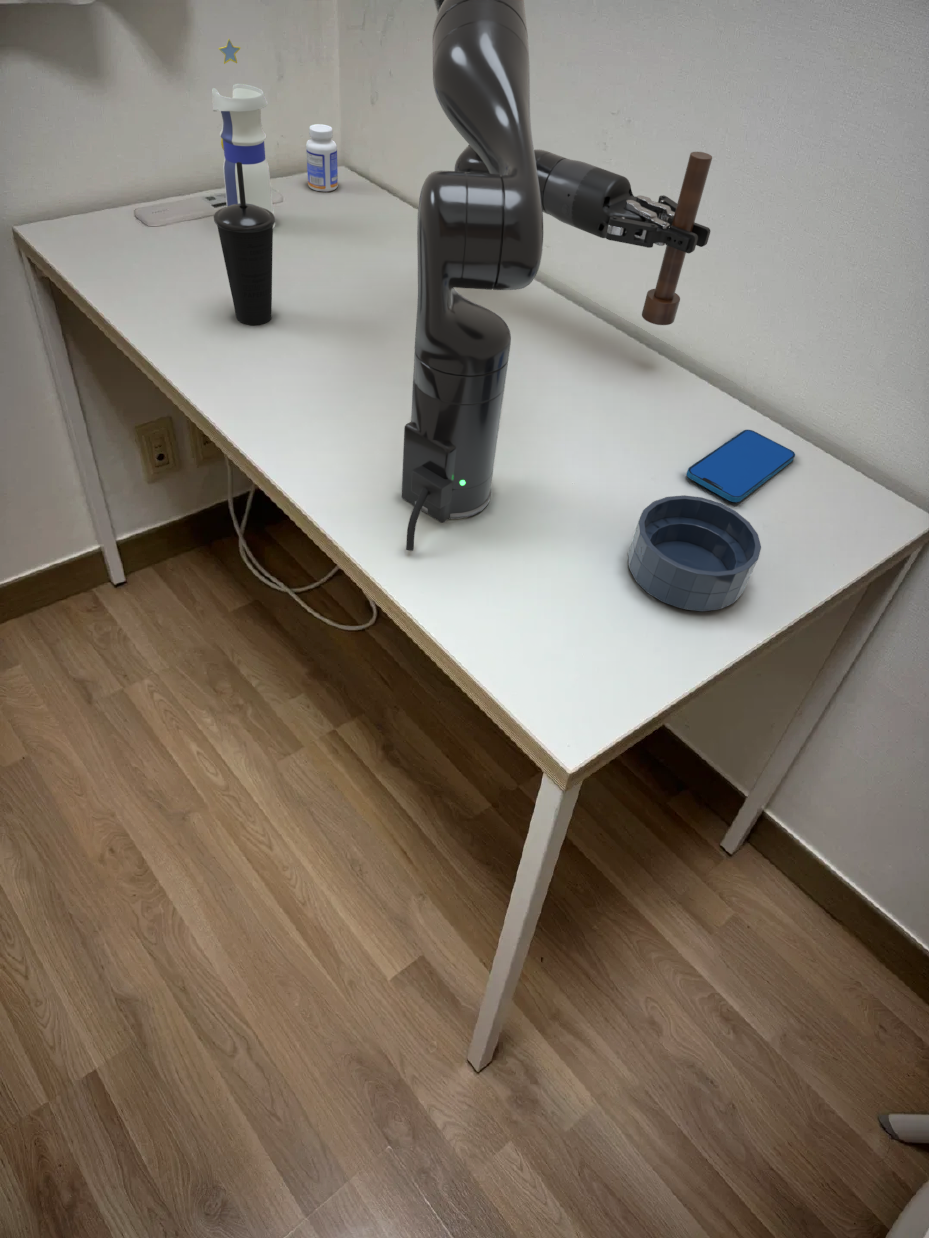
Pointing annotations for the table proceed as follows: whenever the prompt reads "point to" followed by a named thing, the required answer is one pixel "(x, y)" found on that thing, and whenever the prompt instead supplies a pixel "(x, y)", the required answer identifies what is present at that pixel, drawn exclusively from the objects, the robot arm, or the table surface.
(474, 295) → the table surface
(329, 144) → the pill bottle
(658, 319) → the muddler
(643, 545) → the bowl
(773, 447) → the smartphone
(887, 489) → the table surface
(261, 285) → the drinking cup
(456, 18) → the robot arm
